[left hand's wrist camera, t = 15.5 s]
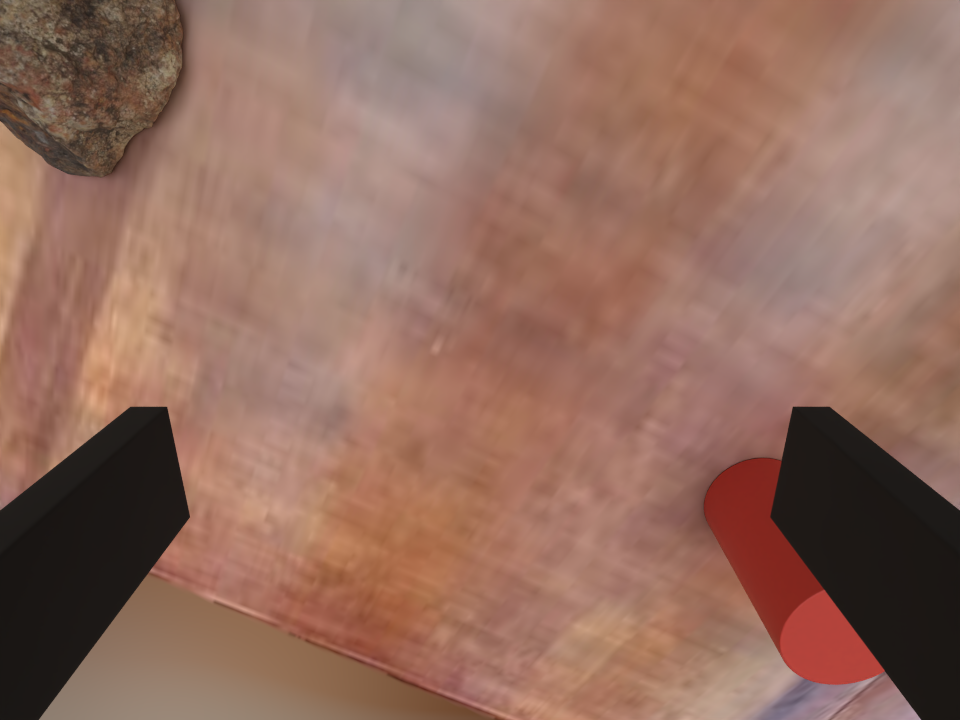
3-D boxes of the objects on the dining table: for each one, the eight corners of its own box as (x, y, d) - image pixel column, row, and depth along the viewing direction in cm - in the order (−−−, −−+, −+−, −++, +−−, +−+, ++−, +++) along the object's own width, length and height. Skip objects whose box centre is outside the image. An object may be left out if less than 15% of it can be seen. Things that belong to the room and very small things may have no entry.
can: (716, 453, 40) (801, 576, 29) (819, 461, 40) (941, 586, 30) (694, 538, 43) (764, 680, 32) (790, 546, 43) (893, 689, 32)
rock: (-35, 91, 33) (131, 203, 35) (-205, 95, 25) (20, 238, 28) (53, -182, 28) (242, -30, 30) (-128, -282, 20) (144, -68, 22)
